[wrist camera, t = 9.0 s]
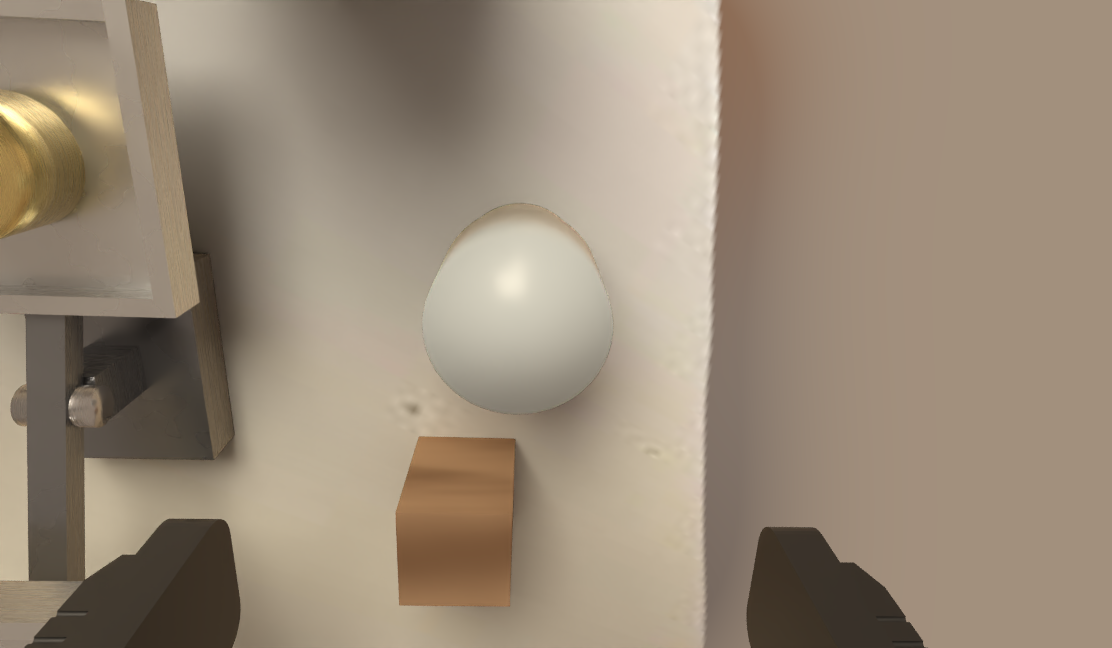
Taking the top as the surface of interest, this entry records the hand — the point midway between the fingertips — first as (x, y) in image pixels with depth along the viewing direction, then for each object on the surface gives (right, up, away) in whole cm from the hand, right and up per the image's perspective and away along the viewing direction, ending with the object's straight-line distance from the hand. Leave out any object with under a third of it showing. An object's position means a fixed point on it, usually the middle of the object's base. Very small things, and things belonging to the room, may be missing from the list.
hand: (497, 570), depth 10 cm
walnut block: (-3, -3, +20) cm, 20 cm away
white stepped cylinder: (-1, +6, +17) cm, 18 cm away
